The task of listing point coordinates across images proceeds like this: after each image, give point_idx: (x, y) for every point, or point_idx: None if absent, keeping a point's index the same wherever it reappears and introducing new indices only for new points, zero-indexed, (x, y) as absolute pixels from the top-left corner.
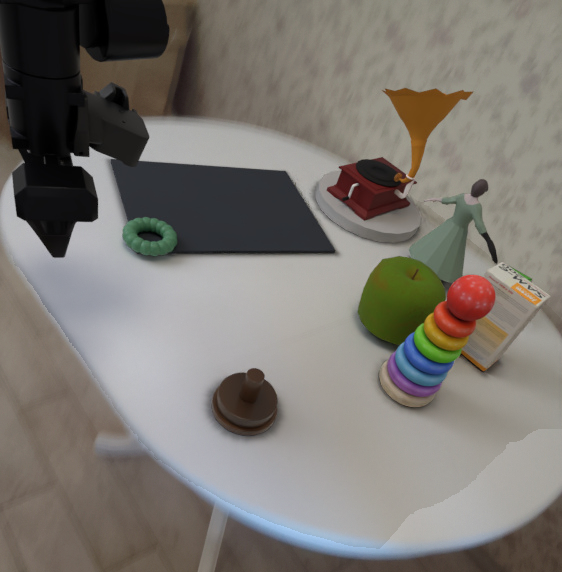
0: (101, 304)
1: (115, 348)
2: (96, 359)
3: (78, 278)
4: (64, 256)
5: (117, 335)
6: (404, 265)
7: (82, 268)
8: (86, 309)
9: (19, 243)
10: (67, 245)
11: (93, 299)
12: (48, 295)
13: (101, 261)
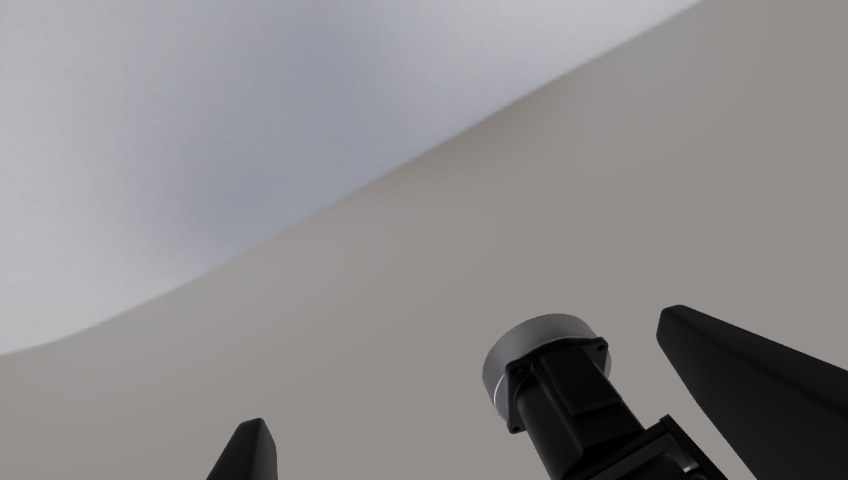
0: (335, 60)
1: (517, 15)
2: (549, 69)
3: (222, 137)
4: (687, 307)
5: (468, 8)
6: None
7: (163, 129)
8: (364, 104)
9: (110, 304)
10: (781, 345)
11: (315, 86)
12: (321, 205)
13: (89, 64)
